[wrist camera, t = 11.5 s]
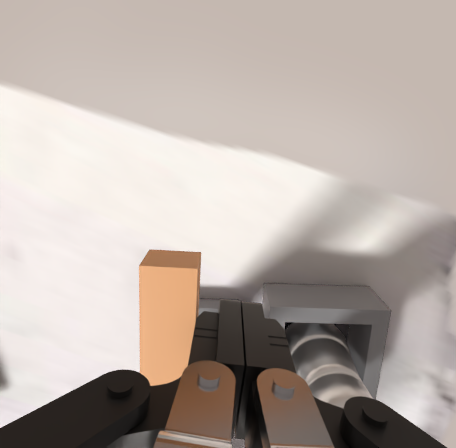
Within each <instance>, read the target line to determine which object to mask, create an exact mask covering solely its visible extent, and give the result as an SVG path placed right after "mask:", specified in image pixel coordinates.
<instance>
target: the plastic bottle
mask: <svg viewBox="0 0 456 448" xmlns="http://www.w3.org/2000/svg"><path fill="white" fill-rule="evenodd" d="M285 334H286V339H287V341H288V345H289V348H290V352H291V356H292V359H293V363H294V366H295V370H296V374H297V375H299V376H300V377H302V378H303V379H304V380H305V381H306V383H307V384H308V386H309V388H310V390H311V392H312V395H313V396H314V397H316V398H317V399H319V400H321V401H324V402H326V403H329V404H332V405H335V406H338V407H341V408H343V409H344V405H345V402H346V401H347V400H348V399H350V398H352V397H356V396H363V397H369V398H372V396H371V395H370V393H369V392H368V390H367V388H366V387H365V385H364V384H363V382H362V381H361V379H360V377H359V375H358V372H357V370H356V368H355V365H354V363H353V361H352V358H351V354H350V350H349V347H348V344H347V341H346V339H345V337H344V335H343V333H342V332H341V331H340V330H339V329H338V328H337V327H336V326H335V325H334V324H330V323H296V322H293V323H291V324H290V325H289V326H288V327H287V328H286V330H285ZM372 399H373V398H372Z"/></svg>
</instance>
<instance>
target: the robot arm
mask: <svg viewBox="0 0 456 448" xmlns="http://www.w3.org/2000/svg"><path fill="white" fill-rule="evenodd" d="M234 428H235V438H237V439H245V448H447V447H445V446H444V445H442V444H441V443H440V442H438V441H437V440H435V439H434V438H433V437H431V436H430V435H428V434H427V433H425V432H424V431H423V430H421V429H420V428H418V427H417V426H415V425H414V424H413V423H411V422H410V421H408V420H407V419H405V418H404V417H403V416H401V415H400V414H398V413H397V412H395V411H394V410H393V409H391V408H390V407H388V406H387V405H385V404H384V403H382V402H380V401H377V400H375V399H372V398H369V397H363V396H356V397H352V398H350V399H348V400H347V401H346V402H345V405H344V409H343V408H341V407H338V406H335V405H332V404H329V403H326V402H324V401H321V400H319V399H317V398H316V397H314V396H313V395H312V392H311V390H310V388H309V386H308V384H307V383H306V381H305V380H304V379H303V378H302V377H300V376H299V375H297V374H296V370H295V366H294V363H293V359H292V356H291V352H290V348H289V345H288V341H287V339H286V334H285V331H284V328H283V327H282V326H281V325H280V323H279V322H278V321H277V320H276V319H269V318H265V317H264V311H263V306H262V304H261V303H252V302H244V301H241V303H240V301H235V300H226V299H220V302H219V310H218V313H216V312H208V311H203V312H202V313H201V314H200V315H199V316H198V317H197V318H196V323H195V329H194V334H193V339H192V345H191V350H190V356H189V361H188V366H187V367H186V368H185V369H184V371H183V373H182V376H181V377H180V378H178V379H176V380H175V381H172V382H170V383H167V384H161V385H154V386H150V383H149V381H148V379H147V378H146V377H145V376H144V375H142V374H141V373H139V372H136V371H132V370H116V371H112V372H108V373H106V374H104V375H102V376H100V377H98V378H96V379H94V380H92V381H90V382H88V383H86V384H85V385H83V386H81V387H79V388H77V389H75V390H73V391H71V392H69V393H67V394H65V395H63V396H61V397H59V398H58V399H56V400H54V401H52V402H50V403H48V404H46V405H44V406H42V407H40V408H38V409H36V410H34V411H33V412H31V413H29V414H27V415H25V416H23V417H21V418H19V419H17V420H15V421H13V422H11V423H9V424H7V425H6V426H4V427H2V428H0V448H232V442H231V438H233V435H234Z"/></svg>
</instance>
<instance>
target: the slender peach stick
mask: <svg viewBox="0 0 456 448" xmlns="http://www.w3.org/2000/svg"><path fill="white" fill-rule="evenodd" d="M200 266H201V252H185V251H166V250H149V251H148V253H147V255H146V256H145V258H144V259H143V261H142V262H141V264H140V265H139V302H140V373H141V374H142V375H144V376H145V377H146V378H147V379H148V381H149V383H150V386H154V385H161V384H167V383H170V382H172V381H175V380H176V379H178V378H180V377H181V376H182V373H183V371H184V369H185V368H186V367H187V366H188V361H189V356H190V350H191V345H192V339H193V334H194V329H195V323H196V318H197V317H198V314H199V290H200Z"/></svg>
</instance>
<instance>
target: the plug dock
mask: <svg viewBox="0 0 456 448" xmlns="http://www.w3.org/2000/svg"><path fill="white" fill-rule="evenodd" d="M235 301H239V300H235ZM219 302H220V299H199V314H198V316H199V315H200V314H201V313H202V312H203V311H208V312H216V313H218V310H219ZM263 311H264V317H265V318H269V319H276V320H277V321H278V322H279V323H280V325H281V326H282V327H283V328H284V330H285V322H296V323H330V324H349V330H348V337H347V344H348V347H349V350H350V354H351V358H352V361H353V363H354V365H355V368H356V370H357V372H358V375H359V377H360V379H361V381H362V382H363V384H364V385H365V387H366V388H367V390H368V392H369V393H370V395H371V396H372V398H373V399H375V400H376V394H377V388H378V383H379V377H380V371H381V366H382V360H383V354H384V349H385V343H386V337H387V332H388V326H389V320H390V315H391V310H390V309H389V307H388V306H387V305H386V304H385V303H384V302H383V301H382V300H381V299H380V298H379V297H378V296H377V294H376V293H375V292H374V291H373V290H372V289H371V288H370V287H369V286H339V285H307V284H275V283H264V291H263Z"/></svg>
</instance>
